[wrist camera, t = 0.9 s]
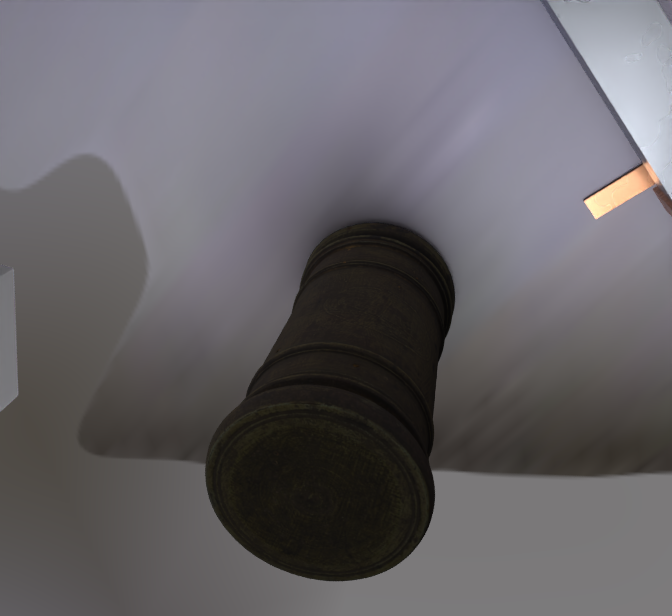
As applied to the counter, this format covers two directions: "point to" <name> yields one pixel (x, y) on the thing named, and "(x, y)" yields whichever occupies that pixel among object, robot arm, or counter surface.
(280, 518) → the container
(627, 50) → the bar
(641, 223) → the counter surface
